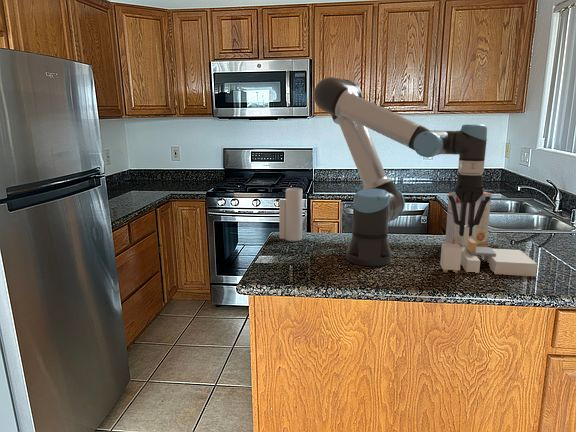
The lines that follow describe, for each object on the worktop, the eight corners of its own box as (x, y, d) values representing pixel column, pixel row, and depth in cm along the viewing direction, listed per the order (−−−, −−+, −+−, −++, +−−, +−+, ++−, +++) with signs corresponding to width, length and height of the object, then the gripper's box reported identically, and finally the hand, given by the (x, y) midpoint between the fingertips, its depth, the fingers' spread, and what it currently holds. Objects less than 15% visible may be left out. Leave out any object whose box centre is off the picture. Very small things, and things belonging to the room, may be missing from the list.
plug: (442, 273, 134) (444, 247, 133) (439, 267, 139) (441, 243, 137) (459, 274, 134) (462, 248, 132) (456, 268, 138) (458, 244, 137)
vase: (305, 239, 172) (306, 189, 168) (291, 242, 168) (291, 191, 163) (287, 233, 181) (287, 186, 176) (273, 236, 176) (273, 187, 172)
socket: (466, 272, 135) (467, 260, 134) (456, 257, 150) (457, 246, 149) (535, 276, 132) (537, 263, 131) (518, 261, 146) (519, 249, 145)
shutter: (470, 254, 139) (471, 243, 139) (465, 248, 147) (466, 237, 146) (495, 256, 138) (497, 244, 137) (489, 249, 145) (490, 238, 145)
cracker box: (477, 244, 167) (482, 190, 162) (486, 248, 161) (492, 193, 156) (443, 245, 164) (448, 191, 160) (452, 250, 158) (457, 193, 154)
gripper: (451, 174, 135) (445, 247, 140) (495, 175, 133) (488, 249, 138) (446, 172, 142) (441, 241, 147) (489, 172, 140) (482, 243, 145)
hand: (464, 245), depth 143 cm, fingers closed
